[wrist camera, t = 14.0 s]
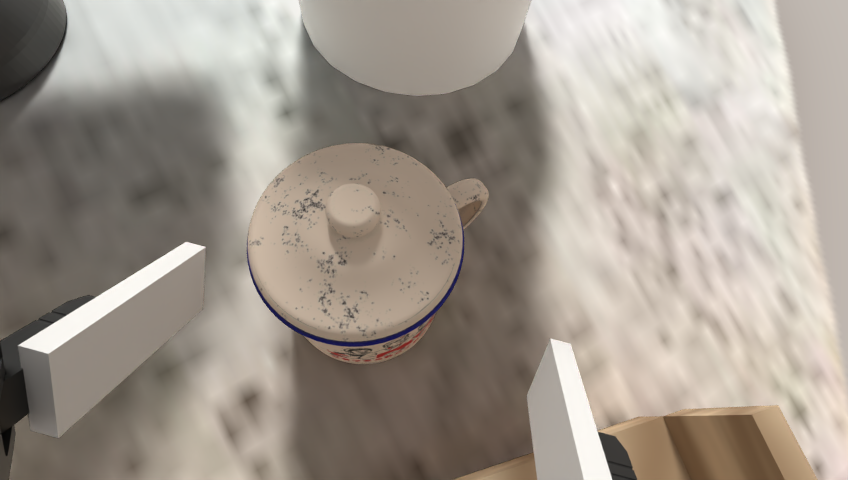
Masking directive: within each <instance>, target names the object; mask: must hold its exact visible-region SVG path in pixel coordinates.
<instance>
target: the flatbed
mask: <svg viewBox="0 0 848 480" xmlns="http://www.w3.org/2000/svg"><path fill="white" fill-rule="evenodd" d="M598 432H602V433H605V434H609V435H613V436H616V438H617V439H618V440H619V442H620V443H621V444H622V446H623V447H624V448H625V450H626V451H627V453H628V455H629V458H630V461H631V464H632V466H633V470H634V472H635V475H636V477H637V480H817V478H816V476H815V474H814V472H813V470H812V468H811V467H810V465H809V463H808V461H807V459H806V457H805V455H804V453H803V451H802V450H801V448H800V446H799V444H798V442H797V440H796V438H795V436H794V434H793V432H792V431H791V429H790V427H789V425H788V423H787V421H786V419H785V417H784V415H783V413H782V412H781V410H780V408H779V406H778V405H774V406H751V407H728V408H704V409H683V410H680V411H677V412H675V413H672V414H669V415H666V416H660V417H637V418H634V419H631V420H628V421H625V422H622V423H619V424H616V425H613V426H610V427H607V428H604V429H601V430H598ZM453 480H537V473H536V466H535V458H534V452H533V453H530V454H527V455H524V456H521V457H518V458H515V459H512V460H509V461H507V462H504V463H501V464H498V465H495V466H492V467H489V468H486V469H483V470H480V471H477V472H474V473H471V474H468V475H465V476H462V477H459V478H456V479H453Z"/></svg>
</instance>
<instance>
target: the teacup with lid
mask: <svg viewBox="0 0 848 480" xmlns="http://www.w3.org/2000/svg"><path fill="white" fill-rule="evenodd" d="M488 198H489V193H488V190H487V188H486V187H485V186H484V184H483V183H482V182H481V181H480V180H478V179H474V178H469V179H464V180H461V181H458V182H456V183H454V184H452V185H450V186H448V187H445V185H444V184H443V183H442V182H441V180H440V179H439V178H438V177H437V176H436V175H435V174H434V173H433V172H432V171H431V170H430V169H429V168H427V167H426V166H425V165H423V164H422V163H421V162H419V161H418V160H416V159H414V158H413V157H411V156H409V155H407V154H405V153H403V152H400V151H398V150H395V149H392V148H389V147H385V146H381V145H375V144H367V143H348V144H339V145H334V146H330V147H325V148H322V149H319V150H316V151H314V152H312V153H309V154H307V155H305V156H303V157H302V158H300V159H298V160H297V161H295V162H294V163H292V164H290V165H289V166H288V167H287V168H285V169H284V170H283V171H282V172H281V173H280V174H279V175H278V176H276V177H275V179H274V180H273V181H272V182H271V183H270V184H269V186H268V187H267V188H266V190H265V191H264V192H263V194H262V196H261V197H260V199H259V201H258V203H257V205H256V207H255V209H254V212H253V215H252V218H251V222H250V226H249V231H248V238H247V259H248V266H249V270H250V274H251V277H252V280H253V283H254V285H255V287H256V290H257V292H258V294H259V295H260V297H261V299H262V300H263V302H264V303H265V304H266V306H267V307H268V308H269V310H270V311H271V312H272V313H273V314H274V315H275V316H276V317H277V318H278V319H279V320H280V321H282V322H283V323H284V324H285V325H287V326H288V327H290V328H291V329H293V330H294V331H296V332H297V333H299V334H301V335H303V336H305V337H306V338H307V339H308V340H309V341H310V343H311V344H312V345H314V346H315V347H316V348H317V349H318V350H320V351H321V352H323V353H324V354H326V355H328V356H330V357H332V358H334V359H337V360H339V361H343V362H347V363H352V364H374V363H379V362H384V361H387V360H390V359H393V358H395V357H397V356H399V355H401V354H402V353H404V352H406V351H407V350H409V349H410V348H411V347H413V346H414V345H415V344H416V343H417V342H418V341H419V340H420V339H421V338H422V337H423V335H424V334H425V333H426V331H427V330H428V328H429V327H430V325H431V323H432V321H433V319H434V317H435V314H436V312H437V310H438V309H439V308H440V307H441V306H442V305H443V303H444V302H445V301H446V299H447V298H448V296H449V295H450V293H451V291H452V290H453V288H454V285H455V283H456V281H457V279H458V276H459V273H460V270H461V266H462V262H463V255H464V231H463V230H464V229H465V228H466V227H467V226H468V225H469V224H470V223H471V222H472V221H473V220H474V219H475V218H476V217H477V216H478V215H479V214H480V212H481V211H482V210H483V208H484V207H485V205H486V203H487V201H488Z"/></svg>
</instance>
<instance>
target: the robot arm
mask: <svg viewBox="0 0 848 480" xmlns="http://www.w3.org/2000/svg"><path fill="white" fill-rule="evenodd" d="M65 25H66V10H65V5H64V2H63V0H0V101H1V100H3V99H4V98H6V97H8V96H9V95H11V94H13V93H14V92H16V91H17V90H19V89H20V88H22V87H23V86H24V85H26V84H27V83H28V82H29V81H30V80H32V79H33V78H34V77H35V76H36V75H37V74H38V73H39V72H40V71H41V70H42V69H43V68H44V67H45V66H46V65H47V63H48V62H49V61H50V60H51V58H52V57H53V55H54V54H55V52H56V50H57V49H58V47H59V45H60V42H61V40H62V37H63V35H64V31H65ZM205 256H206V247H204V246H200V245H197V244H193V243H189V242H185V243H183V244H182V245H180V246H179V247H177V248H175V249H174V250H172V251H170V252H169V253H167V254H166V255H164V256H162V257H161V258H159V259H157V260H156V261H154V262H153V263H151V264H149V265H148V266H146V267H144V268H143V269H141V270H140V271H138V272H136V273H135V274H133V275H131V276H130V277H128V278H127V279H125V280H123V281H122V282H120V283H118V284H117V285H115V286H114V287H112V288H110V289H109V290H107V291H105V292H104V293H102V294H101V295H99V296H97V297H94V296H90V295H87V296H83V297H80V298H77V299H74V300H71V301H68V302H66V303H64V304H63V305H61V306H59V307H58V308H56V309H54V310H52V312H51V313H47V314H46V315H44V316H42V317H41V318H39V320H38V321H37V320H35V321H34V322H32V323H30V324H29V325H27V326H25V327H23V328H22V329H20V330H18V331H17V332H15V333H13V334H11V335H10V336H8V337H6V338H5V339H3V340H1V341H0V480H9V474H10V468H11V461H12V455H13V448H14V441H15V435H16V434H15V428H14V424H15V423H17V422H18V421H19V420H21V419H22V418H23V417H24V416H26V415H27V414H28V417H29V424H30V430H31V431H34V432H37V433H41V434H44V435H48V436H52V437H55V438H59V437H61V436H62V435H63V434H64V433H65V432H66V431H67V430H68V429H69V428H71V427H72V426H73V425H74V424H75V423H76V422H77V421H78V420H80V419H81V418H82V417H83V416H84V415H85V414H86V413H87V412H88V411H90V410H91V409H92V408H93V407H94V406H95V405H96V404H97V403H99V402H100V401H101V400H102V399H103V398H104V397H105V396H106V395H108V394H109V393H110V392H111V391H112V390H113V389H114V388H115V387H116V386H118V385H119V384H120V383H121V382H122V381H123V380H124V379H125V378H127V377H128V376H129V375H130V374H131V373H132V372H133V371H134V370H136V369H137V368H138V367H139V366H140V365H141V364H142V363H143V362H144V361H146V360H147V359H148V358H149V357H150V356H151V355H152V354H153V353H155V352H156V351H157V350H158V349H159V348H160V347H161V346H162V345H163V344H165V343H166V342H167V341H168V340H169V339H170V338H171V337H172V336H174V335H175V334H176V333H177V332H178V331H179V330H180V329H181V328H183V327H184V326H185V325H186V324H187V323H188V322H189V321H190V320H191V319H193V318H194V317H195V316H196V315H197V314H198V313H199V312H200V311H202V310H203V301H204V278H205ZM527 403H528V411H529V419H530V427H531V434H532V442H533V450H534V458H535V466H536V473H537V480H637V477H636V475H635V472H634V470H633V466H632V464H631V461H630V458H629V455H628V453H627V451H626V450H625V448H624V447H623V446H622V444H621V443H620V442H619V440H618V439H617V438H616V436H613V435H609V434H605V433H602V432H598V431H597V428H596V425H595V422H594V418H593V415H592V412H591V409H590V405H589V402H588V399H587V395H586V392H585V389H584V386H583V382H582V379H581V376H580V373H579V369H578V366H577V363H576V360H575V356H574V353H573V350H572V346H571V344H569V343H566V342H562V341H558V340H554V339H551V338H550V340H549V342H548V345H547V347H546V350H545V352H544V355H543V357H542V360H541V362H540V365H539V367H538V369H537V372H536V374H535V377H534V379H533V382H532V384H531V387H530V389H529V391H528V394H527Z"/></svg>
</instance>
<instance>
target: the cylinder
mask: <svg viewBox="0 0 848 480" xmlns="http://www.w3.org/2000/svg"><path fill="white" fill-rule="evenodd" d="M531 1H532V0H299V4H300V9H301V13H302V18H303V23H304V26H305V28H306V30H307V32H308V35H309V37H310V39H311V41H312V43H313V46H314V47H315V48H316V49H317V50H318V51H319V52H320V54H321V55H322V56H323V57H324V58H325V59H326V60H327V61H328V62H329V64H330V65H331V66H333V67H334V68H336V69H337V70H339V71H340V72H342V73H343V74H345V75H347V76H348V77H350V78H351V79H353V80H354V81H356V82H359V83H361V84H364V85H367V86H370V87H372V88H375V89H378V90H381V91H383V92H389V93H396V94H404V95H411V96H424V95H436V94H447V93H450V92H453V91H457V90H460V89H463V88H466V87H469V86H472V85H475V84H477V83H478V82H480V81H481V80H483V79H485V78H486V77H488V76H489V75H491V74H492V73H494V72H496V71H497V70H498V69H499V68H500V67H501V65H502V64H503V63H504V62H505V61H506V60H507V58H508V57H509V56H510V55H511V54H512V53H513V50H514V48H515V45H516V43H517V40H518V38H519V35H520V33H521V30H522V27H523V24H524V21H525V18H526V15H527V12H528V9H529V6H530V3H531Z"/></svg>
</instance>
